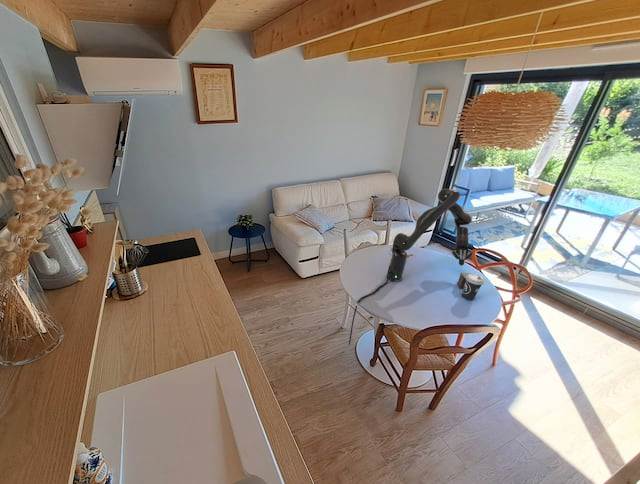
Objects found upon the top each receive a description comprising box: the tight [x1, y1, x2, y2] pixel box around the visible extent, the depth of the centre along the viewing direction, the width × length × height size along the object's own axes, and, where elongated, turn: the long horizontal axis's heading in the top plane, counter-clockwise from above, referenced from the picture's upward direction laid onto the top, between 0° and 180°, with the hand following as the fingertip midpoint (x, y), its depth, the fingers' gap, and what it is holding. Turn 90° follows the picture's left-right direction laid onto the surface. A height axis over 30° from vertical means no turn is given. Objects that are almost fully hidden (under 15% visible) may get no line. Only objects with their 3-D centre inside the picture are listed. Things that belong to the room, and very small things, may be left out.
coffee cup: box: [461, 273, 485, 301], centre depth 177 cm, size 10×10×15 cm
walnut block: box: [457, 272, 472, 290], centre depth 188 cm, size 6×6×9 cm
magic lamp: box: [388, 247, 414, 259], centre depth 217 cm, size 7×18×11 cm, turn 77°
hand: (461, 265), depth 196 cm, fingers closed
